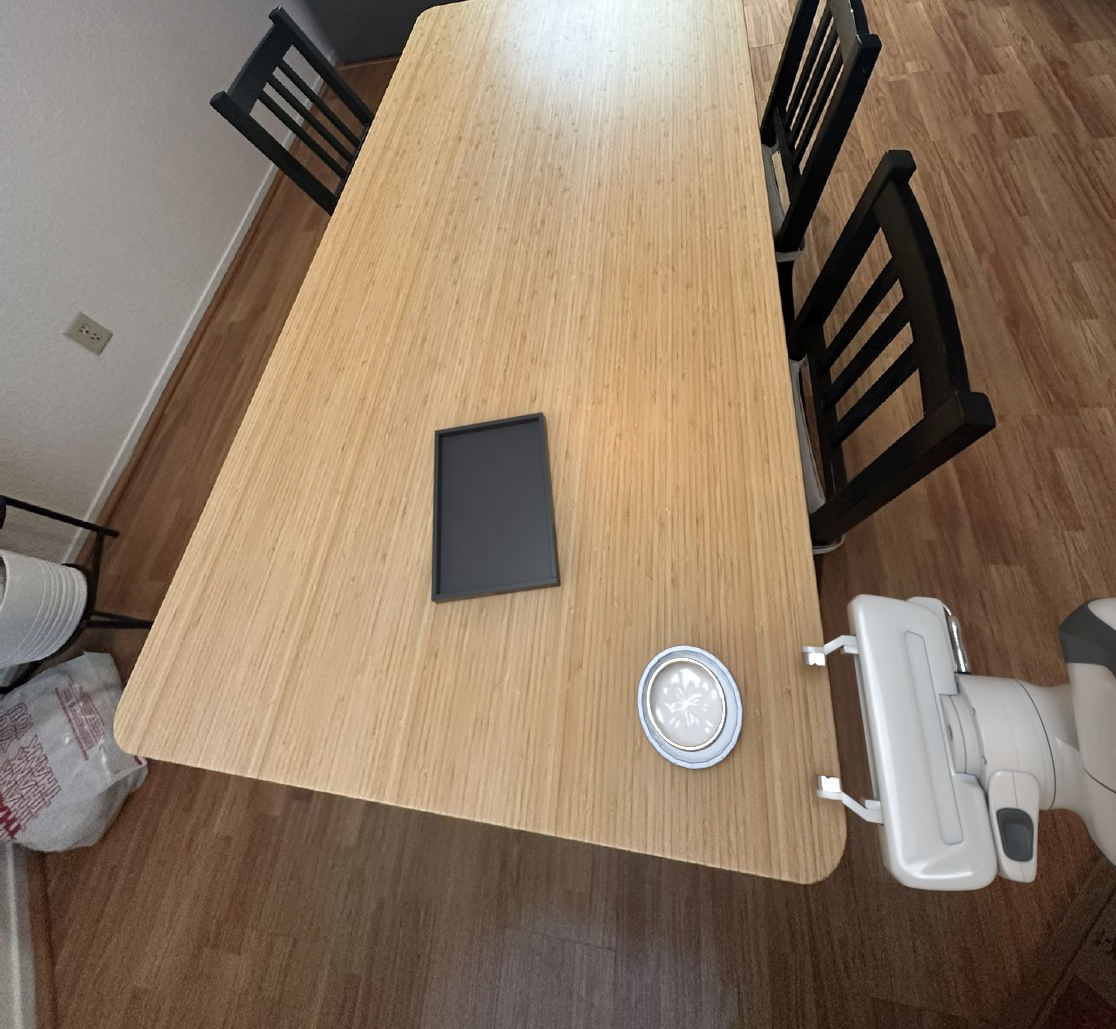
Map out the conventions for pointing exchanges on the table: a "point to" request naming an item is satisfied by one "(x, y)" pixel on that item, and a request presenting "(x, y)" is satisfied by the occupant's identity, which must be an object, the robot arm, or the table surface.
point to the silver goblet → (686, 704)
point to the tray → (493, 510)
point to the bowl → (734, 710)
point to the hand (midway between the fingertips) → (808, 717)
